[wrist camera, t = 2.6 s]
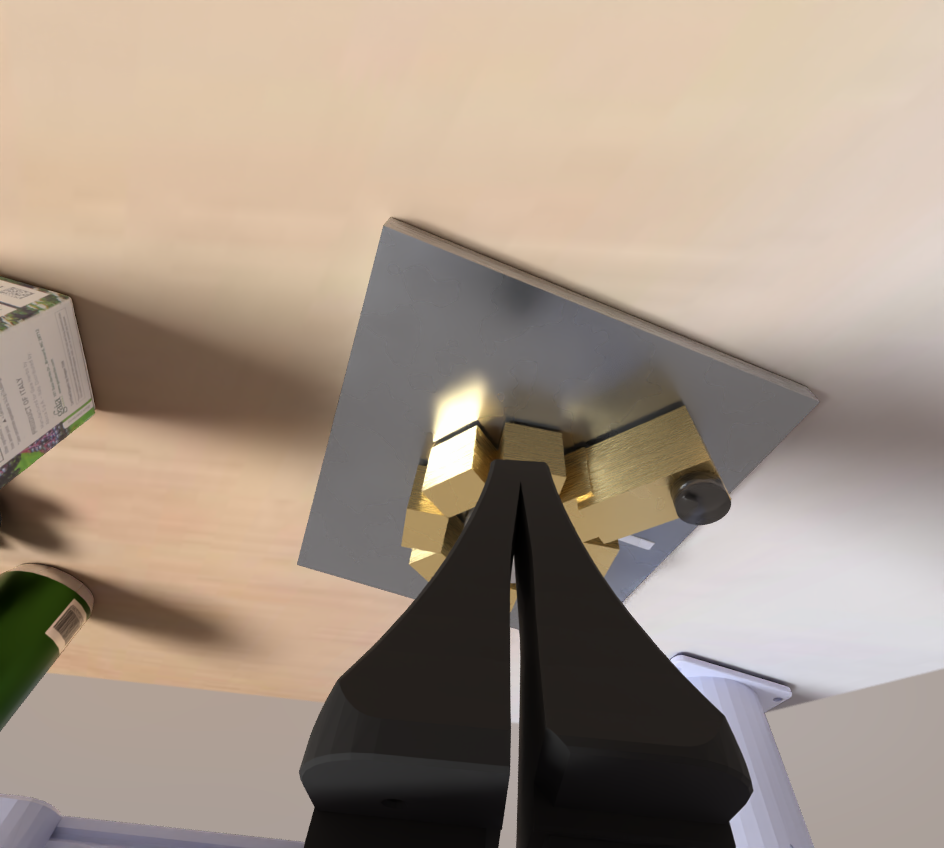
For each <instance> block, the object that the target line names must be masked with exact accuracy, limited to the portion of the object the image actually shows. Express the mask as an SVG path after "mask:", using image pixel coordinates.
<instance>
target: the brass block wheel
mask: <svg viewBox="0 0 944 848" xmlns="http://www.w3.org/2000/svg"><path fill="white" fill-rule="evenodd" d="M495 459H503V460H520V461H537V462H545V463H546V464H547V465H548V466H549V469H550V472H551V475H552V478H553V481H554V484H555V487H556V489H557V492H558V494H559V496H560V499H561V501H562V503H563V506H564V508H565V510H566V512H567V514H568V516H569V518H570V520H571V522H572V524H573V526H574V528H575V530H576V532H577V534H578V535H579V537H580V539H581V541H582V543H583V544H584V546H585V548H586V550H587V551H588V553H589V555H590V556H591V558H592V560H593V561H594V563H595V565H596V566H597V568H598V569H599V571H600V572H601V574H602V575H603V577H605V575H606V573H607V571H608V569H609V568H610V566H611V564H612V562H613V561H614V559H615V557H616V555H617V554H618V552H619V550H620V548H619V543H618V539H620V538H623V537H626V536H629V535H632V534H635V533H638V532H641V531H643V530H646V529H649V528H652V527H655V526H658V525H661V524H664V523H666V522H669V521H672V520H675V519H678V518H680V519H681V520H682V521H684V522H686V523H688V524H693V525H705V524H710V523H713V522H716V521H718V520H720V519H721V518H723V517H724V516H725V515H726V514H727V513H728V511H729V509H730V507H731V498H730V496H729V494H728V491H727V489H726V487H725V485H724V483H723V481H722V479H721V477H720V475H719V473H718V470H717V468H716V466H715V464H714V462H713V460H712V458H711V456H710V454H709V451H708V449H707V447H706V445H705V443H704V441H703V439H702V437H701V435H700V433H699V432H698V430H697V428H696V426H695V424H694V422H693V420H692V418H691V416H690V414H689V412H688V410H687V408H686V407H685V405H684V406H682V407H680V408H677V409H675V410H673V411H671V412H668V413H666V414H664V415H661V416H659V417H657V418H654V419H652V420H650V421H648V422H645V423H643V424H641V425H638V426H636V427H634V428H631V429H629V430H627V431H625V432H622V433H620V434H618V435H615V436H613V437H611V438H608V439H606V440H604V441H602V442H599V443H597V444H595V445H592V446H590V447H588V448H585V447H583V448H580V449H578V450H576V451H573V452H571V453H569V454H567V455H564V450H563V440H562V433H558V432H553V431H548V430H544V429H539V428H534V427H529V426H524V425H519V424H514V423H509V422H505V425H504V429H503V432H502V436H501V439H500V443H499V446H498V450H497V449H496V448H495V447H494V446H493V444H492V443H491V442H490V441H489V440H488V438H487V437H486V436H485V435H484V433H483V432H482V431H481V430H480V428H479V427H478V426H475V427H473V428H471V429H469V430H467V431H465V432H463V433H461V434H459V435H457V436H455V437H453V438H451V439H449V440H447V441H445V442H443V443H441V444H439V445H437V446H435V447H433V448H432V449H431V453H430V457H429V461H428V466H422V465H418V468H417V472H416V475H415V479H414V483H413V487H412V491H411V495H410V499H409V502H408V506H407V511H406V518H405V524H404V531H403V537H402V544H401V546H402V547H407V548H412V552H411V556H410V561H409V565H410V566H411V567H412V568H414V569H415V570H416V571H417V572H418V573H419V574H420V575H421V576H422V577H423V578H425V579H426V580H427V581H428V582H429V581H430V580H431V578H432V577H433V576H434V574H435V573H436V571H437V570H438V569H439V567H440V566H441V564H442V563H443V561H444V560H445V558H446V557H447V555H448V554H449V552H450V551H451V549H452V547H453V546H454V544H455V542H456V541H457V539H458V537H459V536H460V534H461V532H462V530H463V529H464V523H463V522H462V521H461V520H460V519H459V518H458V517H457V516H456V515H457V514H459V513H462V512H464V511H466V510H469V509H471V508H473V507H475V505H476V503H477V501H478V499H479V497H480V495H481V492H482V490H483V488H484V485H485V482H486V479H487V476H488V473H489V469H490V464H491V462H492V461H493V460H495ZM516 599H517V592H516V583H510V612H511V611H512V609H513V606H514V604H515V601H516Z"/></svg>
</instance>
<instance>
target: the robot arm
mask: <svg viewBox="0 0 944 848" xmlns="http://www.w3.org/2000/svg"><path fill="white" fill-rule="evenodd" d="M513 558H514V565H515V579H516V592H517V606H518V620H519V633H520V656H521V659H520V718H519V764H518V766H519V767H518V805H517V842H516V848H814V845H813V843H812V840H811V837H810V835H809V832H808V829H807V826H806V824H805V821H804V818H803V815H802V813H801V810H800V807H799V805H798V802H797V799H796V797H795V794H794V791H793V789H792V786H791V783H790V780H789V778H788V775H787V772H786V770H785V767H784V764H783V762H782V759H781V756H780V753H779V751H778V748H777V746H776V743H775V740H774V737H773V734H772V732H771V729H770V726H769V724H768V721H767V718H766V716H765V712H766V711H768V710H770V709H772V708H773V707H775V706H777V705H779V704H780V703H782V702H784V701H785V700H787V699H789V698H790V697H791V696H792V692H791V690H790V688H789V687H787V686H784V685H781V684H778V683H774V682H771V681H768V680H764V679H761V678H758V677H754V676H751V675H748V674H744V673H741V672H738V671H734V670H731V669H728V668H724V667H721V666H718V665H715V664H711V663H708V662H705V661H701V660H698V659H695V658H691V657H688V656H684V655H678V656H675V657H673V658H672V659H671V660H669V659H668V658H667V657H666V655H665V654H664V653H663V652H662V651H661V650H660V649H659V648H658V647H657V645H656V644H655V643H654V642H653V641H652V639H651V638H650V637H649V636H648V635H647V633H646V632H645V631H644V630H643V629H642V627H641V626H640V625H639V624H638V623H637V621H636V620H635V619H634V618H633V617H632V615H631V614H630V613H629V612H628V610H627V609H626V608H625V606H624V605H623V604H622V602H621V601H620V600H619V598H618V597H617V596H616V594H615V593H614V591H613V590H612V588H611V587H610V586H609V584H608V583H607V581H606V580H605V578H604V577H603V575H602V574H601V572H600V571H599V569H598V568H597V566H596V565H595V563H594V561H593V560H592V558H591V556H590V555H589V553H588V551H587V550H586V548H585V546H584V544H583V543H582V541H581V539H580V537H579V535H578V534H577V532H576V530H575V528H574V526H573V524H572V522H571V520H570V518H569V516H568V514H567V512H566V510H565V508H564V506H563V503H562V501H561V499H560V496H559V494H558V492H557V489H556V487H555V484H554V481H553V478H552V475H551V472H550V469H549V466H548V465H547V464H546V463H545V462H537V461H520V460H503V459H495V460H493V461H492V462H491V464H490V469H489V473H488V476H487V479H486V482H485V485H484V488H483V490H482V492H481V495H480V497H479V499H478V501H477V503H476V505H475V508H474V510H473V512H472V514H471V516H470V518H469V520H468V522H467V523H466V525H465V527H464V529H463V530H462V532H461V534H460V536H459V537H458V539H457V541H456V542H455V544H454V546H453V547H452V549H451V551H450V552H449V554H448V555H447V557H446V558H445V560H444V561H443V563H442V564H441V566H440V567H439V569H438V570H437V571H436V573H435V574H434V576H433V577H432V578H431V580H430V581H429V582H428V584H427V585H426V586H425V587H424V589H423V590H422V591H421V593H420V594H419V595H418V596H417V598H416V599H415V600H414V601H413V603H412V604H411V605H410V606H409V607H408V609H407V610H406V611H405V612H404V613H403V614H402V615H401V616H400V618H399V619H398V620H397V621H396V622H395V623H394V624H393V625H392V626H391V627H390V629H389V630H388V631H387V632H386V633H385V634H384V635H383V636H382V637H381V638H380V639H379V640H378V641H377V642H376V643H375V645H374V646H373V647H372V648H371V649H369V650H368V651H367V652H366V653H365V654H364V655H363V656H362V657H361V658H360V659H359V660H358V661H357V662H356V663H355V664H354V665H353V666H352V667H351V668H349V669H348V670H347V671H346V672H345V673H344V674H343V675H342V676H341V677H340V678H339V679H338V680H337V682H336V684H335V685H334V687H333V689H332V691H331V692H330V694H329V696H328V698H327V700H326V702H325V704H324V706H323V708H322V710H321V712H320V714H319V716H318V718H317V721H316V723H315V725H314V727H313V730H312V733H311V735H310V738H309V741H308V745H307V748H306V751H305V754H304V758H303V761H302V764H301V767H300V770H299V774H300V779H301V781H302V783H303V785H304V787H305V789H306V791H307V793H308V795H309V797H310V799H311V801H312V803H313V805H314V807H315V808H314V812H313V815H312V819H311V823H310V826H309V830H308V833H307V837H306V841H305V842H301V841H291V840H282V839H273V838H264V837H254V836H245V835H236V834H227V833H217V832H208V831H199V830H190V829H181V828H172V827H163V826H153V825H145V824H135V823H126V822H116V821H108V820H98V819H89V818H80V817H71V816H61V814H60V811H59V810H57V809H56V808H55V807H54V806H52V805H51V804H49V803H47V802H45V801H42V800H39V799H36V798H32V797H26V796H19V795H10V794H1V793H0V848H498V846H499V838H500V831H501V830H502V824H503V817H504V810H505V804H506V797H507V790H508V782H509V776H510V743H511V714H510V582H511V574H512V566H513Z"/></svg>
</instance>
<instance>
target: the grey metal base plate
mask: <svg viewBox="0 0 944 848" xmlns="http://www.w3.org/2000/svg"><path fill="white" fill-rule="evenodd" d="M819 402H820V401H819V400H818V399H817V398H816V397H815V396H814V394H813V393H812V392H811V391H810V390H809V389H808V388H807V387H806V386H804V385H801V384H799V383H796V382H794V381H791V380H789V379H786V378H784V377H781V376H779V375H777V374H774V373H772V372H769V371H767V370H764V369H762V368H759V367H757V366H754V365H752V364H750V363H747V362H745V361H742V360H740V359H737V358H735V357H732V356H730V355H728V354H725V353H723V352H720V351H718V350H715V349H713V348H710V347H708V346H705V345H703V344H701V343H698V342H696V341H693V340H691V339H688V338H686V337H683V336H681V335H678V334H676V333H674V332H671V331H669V330H666V329H664V328H661V327H659V326H656V325H654V324H651V323H649V322H647V321H644V320H642V319H639V318H637V317H634V316H632V315H629V314H627V313H624V312H622V311H620V310H617V309H615V308H612V307H610V306H607V305H605V304H602V303H600V302H597V301H595V300H593V299H590V298H588V297H585V296H583V295H580V294H578V293H575V292H573V291H570V290H568V289H566V288H563V287H561V286H558V285H556V284H553V283H551V282H548V281H546V280H543V279H541V278H539V277H536V276H534V275H531V274H529V273H526V272H524V271H521V270H519V269H516V268H514V267H512V266H509V265H507V264H504V263H502V262H499V261H497V260H494V259H492V258H490V257H487V256H485V255H482V254H480V253H477V252H475V251H472V250H470V249H467V248H465V247H463V246H460V245H458V244H455V243H453V242H450V241H448V240H445V239H443V238H440V237H438V236H436V235H433V234H431V233H428V232H426V231H423V230H421V229H418V228H416V227H413V226H411V225H409V224H406V223H404V222H401V221H399V220H396V219H394V218H391V217H390V218H389V219H388V221H387V222H386V223H385V224H384V225H383V229H382V233H381V237H380V241H379V245H378V249H377V253H376V257H375V260H374V264H373V268H372V272H371V276H370V280H369V284H368V288H367V292H366V296H365V300H364V304H363V308H362V311H361V315H360V319H359V323H358V327H357V331H356V335H355V339H354V343H353V347H352V351H351V355H350V359H349V362H348V366H347V370H346V374H345V378H344V382H343V386H342V390H341V394H340V398H339V402H338V406H337V409H336V413H335V417H334V421H333V425H332V429H331V433H330V437H329V441H328V445H327V449H326V453H325V457H324V460H323V464H322V468H321V472H320V476H319V480H318V484H317V488H316V492H315V496H314V500H313V504H312V508H311V511H310V515H309V519H308V523H307V527H306V531H305V535H304V539H303V543H302V547H301V551H300V555H299V559H298V562H297V565H300V566H303V567H306V568H310V569H313V570H317V571H320V572H323V573H327V574H330V575H334V576H337V577H341V578H344V579H347V580H351V581H354V582H358V583H361V584H364V585H368V586H371V587H375V588H378V589H381V590H385V591H388V592H392V593H395V594H399V595H402V596H405V597H409V598H412V599H416V598H417V596H418V595H419V594H420V593H421V591H422V590H423V589H424V587H425V586H426V585H427V584H428V581H427V580H426V579H425V578H423V577H422V576H421V575H420V574H419V573H418V572H417V571H416V570H415V569H414V568H412V567H411V566H410V565H409V561H410V556H411V552H412V548H407V547H402V546H401V544H402V537H403V531H404V524H405V518H406V511H407V506H408V502H409V499H410V495H411V491H412V487H413V483H414V479H415V475H416V472H417V468H418V465H422V466H428V461H429V457H430V453H431V449H432V448H433V447H435V446H437V445H439V444H441V443H443V442H445V441H447V440H449V439H451V438H453V437H455V436H457V435H459V434H461V433H463V432H465V431H467V430H469V429H471V428H473V427H475V426H478V427H479V428H480V430H481V431H482V432H483V433H484V435H485V436H486V437H487V438H488V440H489V441H490V442H491V443H492V444H493V446H494V447H495V448H496V449H497V450H498V446H499V443H500V439H501V436H502V432H503V429H504V425H505V422H509V423H514V424H519V425H524V426H529V427H534V428H539V429H544V430H548V431H553V432H558V433H562V440H563V450H564V455H567V454H569V453H571V452H573V451H576V450H578V449H580V448H583V447H585V448H588V447H590V446H592V445H595V444H597V443H599V442H602V441H604V440H606V439H608V438H611V437H613V436H615V435H618V434H620V433H622V432H625V431H627V430H629V429H631V428H634V427H636V426H638V425H641V424H643V423H645V422H648V421H650V420H652V419H654V418H657V417H659V416H661V415H664V414H666V413H668V412H671V411H673V410H675V409H677V408H680V407H682V406H684V405H685V407H686V408H687V410H688V412H689V414H690V416H691V418H692V420H693V422H694V424H695V426H696V428H697V430H698V432H699V433H700V435H701V437H702V439H703V441H704V443H705V445H706V447H707V449H708V451H709V454H710V456H711V458H712V460H713V462H714V464H715V466H716V468H717V470H718V473H719V475H720V477H721V479H722V481H723V483H724V485H725V487H726V489H727V491H728V494H729V493H730V492H731V491H732V490H733V489H734V488H735V487H736V486H737V485H738V484H739V483H740V482H741V481H742V480H743V479H744V478H745V477H746V476H747V475H748V474H749V473H750V472H751V471H752V470H753V469H754V468H755V467H756V466H757V465H758V464H759V463H760V462H761V461H762V460H763V459H764V458H765V457H766V456H767V455H768V454H769V453H770V452H771V451H772V450H773V449H774V448H775V447H776V446H777V445H778V444H779V443H780V442H781V441H782V440H783V439H784V438H785V437H786V436H787V435H788V434H789V433H790V432H791V431H792V430H793V429H794V428H795V427H796V426H797V425H798V424H799V423H800V422H801V421H802V420H803V419H804V418H805V417H806V416H807V415H808V414H809V413H810V412H811V411H812V410H813V409H814V408H815V407H816V406H817V404H818V403H819ZM474 508H475V507H473V508H471V509H469V510H466V511H464V512H462V513H459V514H457V515H456V516H457V517H458V518H459V519H460V520H461V521H462V522H463V523H464V527H465V525H466V523H467V522H468V520H469V518H470V516H471V514H472V512H473V510H474ZM697 526H698V525H693V524H688V523H686V522H684V521H682V520H681V519H680V518H678V519H675V520H672V521H669V522H666V523H664V524H661V525H658V526H655V527H652V528H649V529H646V530H643V531H641V532H638V533H635V534H632V535H629V536H626V537H623V538H620V539H618V543H619V548H620V550H619V552H618V554H617V555H616V557H615V559H614V561H613V562H612V564H611V566H610V568H609V569H608V571H607V573H606V575H605V577H604V578H605V580H606V581H607V583H608V584H609V586H610V587H611V588H612V590H613V591H614V593H615V594H616V596H617V597H618V598H619V600H620V601H621V602H623V601H624V600H625V599H626V598H627V597H628V596H629V595H630V594H631V593H632V592H633V591H634V589H635V588H636V587H637V586H638V585H639V584H640V583H641V582H642V581H643V580H644V579H645V578H646V577H647V576H648V575H649V574H650V573H651V572H652V571H653V570H654V569H655V568H656V567H657V566H658V565H659V564H660V563H661V562H662V561H663V560H664V559H665V558H666V557H667V556H668V555H669V554H670V553H671V552H672V551H673V550H674V549H675V548H676V547H677V546H678V545H679V544H680V543H681V542H682V541H683V540H684V539H685V538H686V537H687V536H688V535H689V534H690V533H691V532H692V531H693V530H694V529H695V528H696V527H697ZM510 583H516V579H515V565H514V558H513V566H512V574H511V582H510ZM510 627H511V628H515V629H518V630H519V620H518V606H517V599H516V601H515V604H514V606H513V609H512V611H511V612H510Z"/></svg>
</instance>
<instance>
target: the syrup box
mask: <svg viewBox="0 0 944 848" xmlns="http://www.w3.org/2000/svg"><path fill="white" fill-rule="evenodd" d="M94 410H95V404H94V398H93V393H92V389H91V384H90V379H89V375H88V370H87V365H86V360H85V356H84V352H83V346H82V342H81V338H80V334H79V330H78V325H77V321H76V317H75V313H74V308H73V303H72V299H71V298H70V297H69V296H66V295H63V294H60V293H57V292H53V291H50V290H47V289H44V288H40V287H36V286H32V285H28V284H26V283H21V282H19V281H14V280H12V279H8V278H5V277H1V276H0V489H1V488H2V487H3V486H5V485H6V484H7V483H8V482H10V481H11V480H12V479H13V478H15V477H16V476H17V475H19V474H20V473H21V472H23V471H24V470H25V469H26V468H28V467H29V466H30V465H32V464H33V463H34V462H35V461H36V460H37V459H39V458H40V457H41V456H43V455H44V454H45V453H46V452H48V451H49V450H50V449H52V448H53V447H54V446H55V445H56V444H58V443H59V442H60V441H62V440H63V439H64V438H65V437H67V436H68V435H69V434H70V433H72V432H73V431H74V430H75V429H77V428H78V427H79V426H80V425H82V424H83V423H84V422H86V421H87V420H88V419H89V418H91V417H92V416H93V415H94V413H95V411H94Z"/></svg>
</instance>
